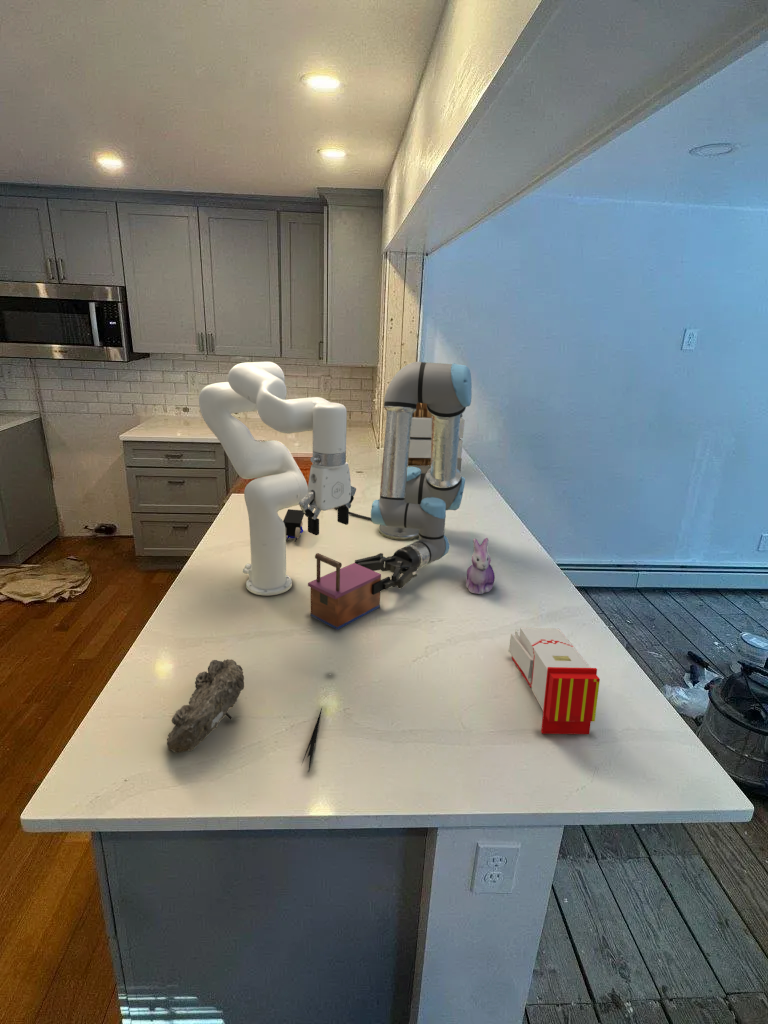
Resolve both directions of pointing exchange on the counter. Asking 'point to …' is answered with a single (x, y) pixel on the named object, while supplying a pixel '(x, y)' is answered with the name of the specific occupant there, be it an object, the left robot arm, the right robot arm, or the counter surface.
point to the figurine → (480, 569)
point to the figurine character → (293, 524)
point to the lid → (341, 578)
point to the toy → (557, 679)
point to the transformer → (426, 438)
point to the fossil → (206, 705)
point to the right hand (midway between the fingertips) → (358, 583)
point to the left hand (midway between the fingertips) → (328, 528)
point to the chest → (344, 605)
